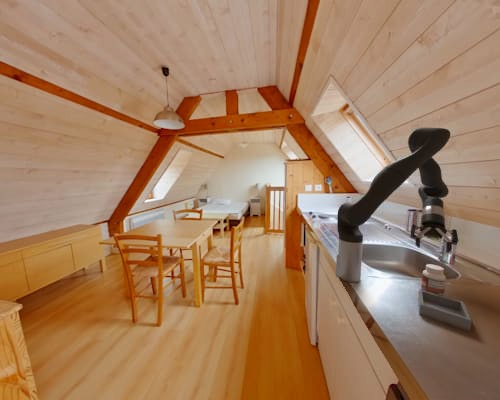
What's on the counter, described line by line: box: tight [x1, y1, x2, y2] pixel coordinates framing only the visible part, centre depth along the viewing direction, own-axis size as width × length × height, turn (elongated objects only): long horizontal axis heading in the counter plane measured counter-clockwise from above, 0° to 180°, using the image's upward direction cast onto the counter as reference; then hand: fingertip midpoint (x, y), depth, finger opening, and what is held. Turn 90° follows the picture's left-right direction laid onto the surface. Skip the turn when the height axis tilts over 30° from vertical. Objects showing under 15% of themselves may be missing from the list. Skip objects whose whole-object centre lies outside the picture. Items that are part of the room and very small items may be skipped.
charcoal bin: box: [417, 289, 472, 333], centre depth 59 cm, size 11×11×4 cm
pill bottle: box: [420, 263, 447, 297], centre depth 68 cm, size 6×6×11 cm
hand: (432, 249), depth 75 cm, fingers open, 8 cm apart
